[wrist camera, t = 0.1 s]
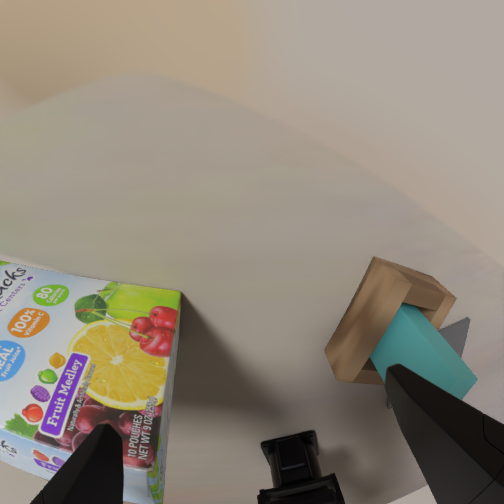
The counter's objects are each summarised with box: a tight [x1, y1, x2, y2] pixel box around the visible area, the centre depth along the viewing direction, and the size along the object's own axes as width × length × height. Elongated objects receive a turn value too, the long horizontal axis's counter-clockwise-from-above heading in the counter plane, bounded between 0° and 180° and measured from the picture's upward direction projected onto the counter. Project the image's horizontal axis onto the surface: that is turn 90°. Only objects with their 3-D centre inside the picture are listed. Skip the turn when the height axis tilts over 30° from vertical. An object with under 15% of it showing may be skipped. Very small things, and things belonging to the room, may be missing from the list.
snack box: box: [0, 261, 181, 504], centre depth 16 cm, size 21×6×15 cm, turn 80°
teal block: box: [370, 302, 478, 400], centre depth 20 cm, size 5×2×11 cm, turn 161°
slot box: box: [324, 257, 457, 385], centre depth 24 cm, size 10×7×4 cm
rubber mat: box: [387, 317, 470, 409], centre depth 30 cm, size 10×10×1 cm
